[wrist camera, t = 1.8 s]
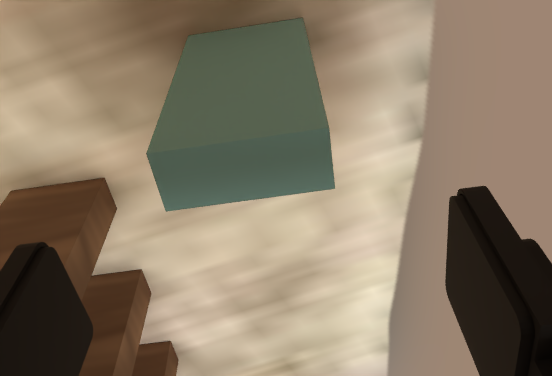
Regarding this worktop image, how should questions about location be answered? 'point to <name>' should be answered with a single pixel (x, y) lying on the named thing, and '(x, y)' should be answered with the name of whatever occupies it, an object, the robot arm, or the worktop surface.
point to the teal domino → (242, 120)
